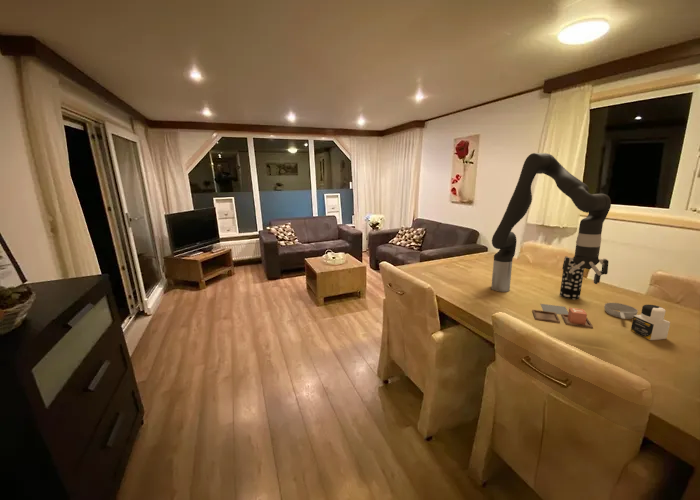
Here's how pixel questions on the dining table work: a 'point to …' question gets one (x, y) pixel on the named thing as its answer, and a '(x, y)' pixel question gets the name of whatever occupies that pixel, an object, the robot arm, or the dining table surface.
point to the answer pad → (554, 309)
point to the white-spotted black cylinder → (572, 284)
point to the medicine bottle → (651, 323)
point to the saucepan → (624, 310)
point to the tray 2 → (567, 322)
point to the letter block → (577, 316)
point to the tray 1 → (545, 316)
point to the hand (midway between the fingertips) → (582, 282)
